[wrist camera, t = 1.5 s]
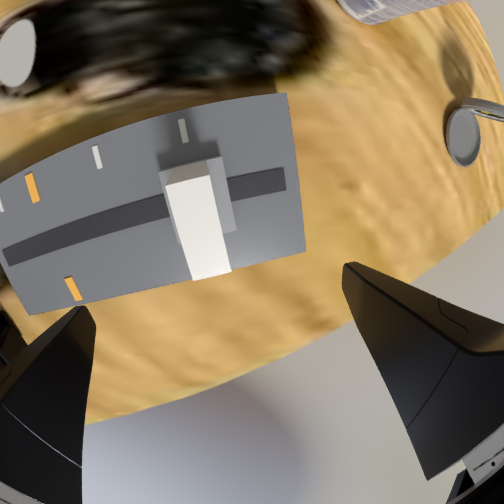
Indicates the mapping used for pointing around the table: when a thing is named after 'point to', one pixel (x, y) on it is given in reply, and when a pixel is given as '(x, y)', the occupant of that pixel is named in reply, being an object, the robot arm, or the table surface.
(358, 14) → the energy drink
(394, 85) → the table surface
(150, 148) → the fader console
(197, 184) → the fader tab
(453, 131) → the pocket watch
